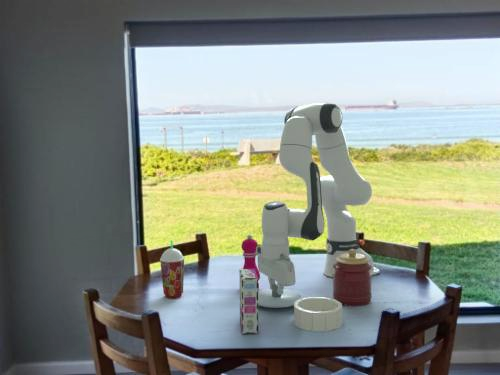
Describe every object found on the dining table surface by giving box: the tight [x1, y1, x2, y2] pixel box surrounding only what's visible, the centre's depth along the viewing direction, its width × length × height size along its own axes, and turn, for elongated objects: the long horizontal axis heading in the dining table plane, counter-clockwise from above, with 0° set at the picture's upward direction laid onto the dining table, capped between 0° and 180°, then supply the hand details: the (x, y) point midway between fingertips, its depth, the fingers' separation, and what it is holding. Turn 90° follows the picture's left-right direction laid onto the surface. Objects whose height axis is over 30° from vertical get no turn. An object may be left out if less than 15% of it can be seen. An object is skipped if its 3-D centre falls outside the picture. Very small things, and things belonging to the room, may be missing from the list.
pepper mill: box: [241, 234, 261, 290], centre depth 190 cm, size 7×7×20 cm
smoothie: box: [159, 240, 185, 300], centre depth 183 cm, size 8×8×20 cm
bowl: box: [293, 296, 343, 332], centre depth 157 cm, size 14×14×6 cm
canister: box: [332, 249, 373, 307], centre depth 176 cm, size 13×13×18 cm
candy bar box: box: [238, 268, 259, 335], centre depth 153 cm, size 11×5×16 cm, turn 5°
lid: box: [258, 283, 302, 309], centre depth 173 cm, size 16×16×5 cm
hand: (276, 291), depth 173 cm, fingers closed on lid, 3 cm apart
